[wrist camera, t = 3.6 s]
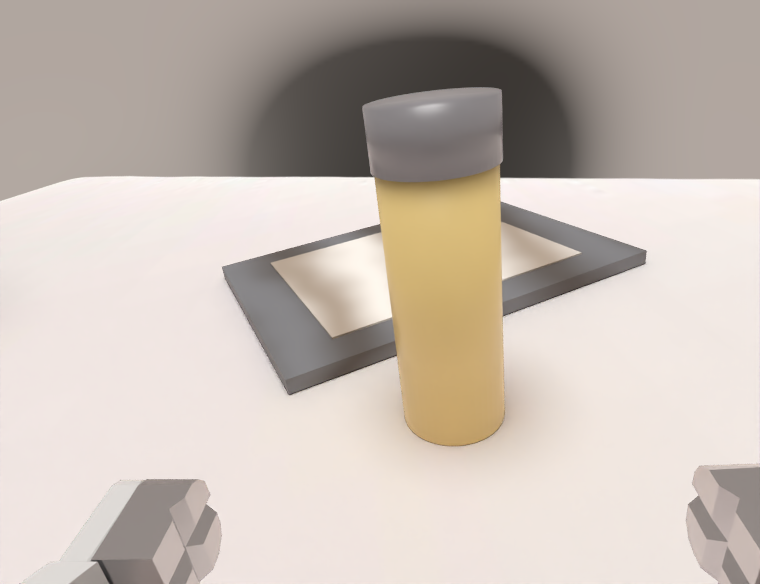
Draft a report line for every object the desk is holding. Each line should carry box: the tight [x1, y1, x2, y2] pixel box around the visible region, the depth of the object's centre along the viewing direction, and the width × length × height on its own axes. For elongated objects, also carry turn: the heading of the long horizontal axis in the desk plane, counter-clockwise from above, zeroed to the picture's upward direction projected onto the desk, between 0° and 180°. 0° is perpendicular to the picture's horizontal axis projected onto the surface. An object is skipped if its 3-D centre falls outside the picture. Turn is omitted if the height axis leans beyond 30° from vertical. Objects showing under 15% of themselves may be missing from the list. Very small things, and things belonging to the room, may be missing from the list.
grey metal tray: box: [222, 201, 646, 394], centre depth 34 cm, size 22×16×1 cm
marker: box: [362, 87, 505, 446], centre depth 19 cm, size 4×4×12 cm
